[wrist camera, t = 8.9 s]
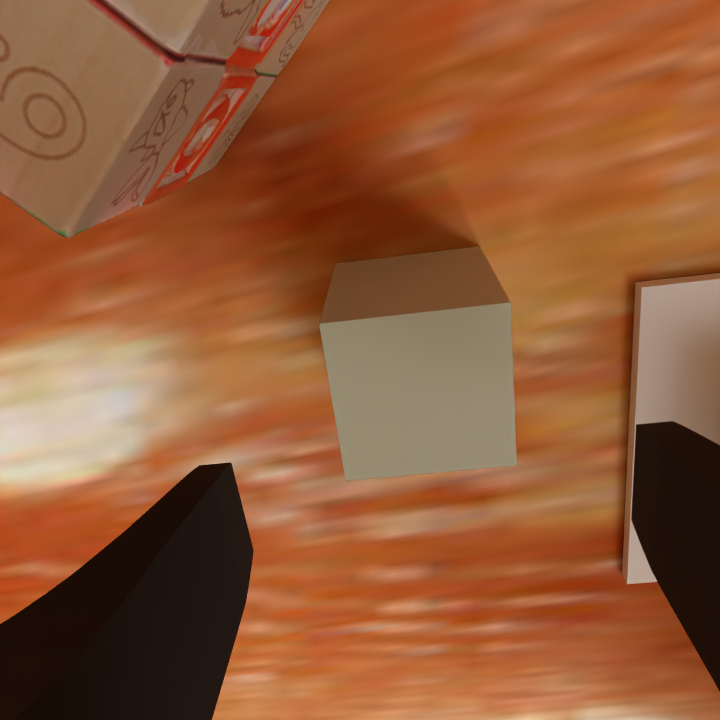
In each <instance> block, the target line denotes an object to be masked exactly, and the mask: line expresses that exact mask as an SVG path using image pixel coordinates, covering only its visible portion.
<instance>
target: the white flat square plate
mask: <svg viewBox="0 0 720 720" xmlns="http://www.w3.org/2000/svg"><path fill="white" fill-rule="evenodd" d="M668 421H674V422H676V423H678V424H680V425H683V426H685V427H687V428H689V429H691V430H692V431H694V432H696V433H698V434H700V435H702V436H704V437H706V438H708V439H709V440H711V441H713V442H715V443H717V444H719V445H720V273H714V274H705V275H696V276H687V277H678V278H669V279H660V280H651V281H642V282H635V303H634V324H633V346H632V368H631V390H630V412H629V434H628V456H627V478H626V500H625V522H624V543H623V565H622V575H623V577H624V579H625V581H626V583H627V584H635V583H649V582H657V580H656V578H655V576H654V574H653V573H652V571H651V568H650V566H649V563H648V561H647V559H646V556H645V554H644V552H643V549H642V547H641V544H640V541H639V539H638V536H637V534H636V531H635V529H634V526H633V523H632V521H631V515H632V495H633V476H634V456H635V437H636V424H647V423H657V422H668Z"/></svg>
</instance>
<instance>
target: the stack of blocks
mask: <svg viewBox="0 0 720 720" xmlns="http://www.w3.org/2000/svg"><path fill="white" fill-rule="evenodd" d="M328 2H329V0H0V193H1V194H3V195H4V196H6V197H8V198H9V199H10V200H11V201H12V202H14V203H15V204H16V205H17V206H19V207H20V208H22V209H23V210H25V211H26V212H27V213H29V214H30V215H32V216H33V217H34V218H36V219H37V220H39V221H40V222H41V223H43V224H44V225H46V226H47V227H48V228H50V229H51V230H53V231H54V232H56V233H57V234H59V235H61V236H64V237H67V238H69V237H71V236H74V235H76V234H78V233H80V232H82V231H84V230H87V229H89V228H91V227H93V226H95V225H97V224H99V223H102V222H104V221H106V220H108V219H110V218H112V217H114V216H117V215H119V214H121V213H123V212H125V211H127V210H129V209H131V208H132V207H135V206H137V205H139V206H140V207H142V206H145V205H147V204H149V203H151V202H153V201H155V200H157V199H159V198H161V197H163V196H165V195H167V194H169V193H171V192H172V191H174V190H176V189H178V188H180V187H181V186H183V185H184V184H186V183H188V182H190V181H191V180H193V179H194V178H196V177H198V176H200V175H201V174H203V173H205V172H207V171H209V170H210V169H212V168H214V167H215V166H216V165H217V164H218V162H219V161H220V159H221V158H222V156H223V155H224V153H225V152H226V150H227V149H228V147H229V146H230V144H231V143H232V141H233V140H234V139H235V137H236V136H237V134H238V133H239V131H240V130H241V128H242V127H243V125H244V124H245V122H246V121H247V119H248V118H249V117H250V115H251V114H252V112H253V111H254V109H255V108H256V106H257V105H258V103H259V102H260V100H261V99H262V98H263V96H264V95H265V93H266V92H267V90H268V89H269V87H270V86H271V84H272V83H273V81H274V79H275V78H276V76H277V75H278V74H279V73H280V71H281V70H282V69H283V68H284V67H285V65H286V64H287V62H288V61H289V60H290V58H291V57H292V55H293V54H294V52H295V51H296V50H297V48H298V47H299V45H300V44H301V42H302V41H303V40H304V38H305V37H306V35H307V34H308V32H309V31H310V29H311V28H312V26H313V25H314V23H315V22H316V20H317V19H318V17H319V16H320V14H321V13H322V11H323V10H324V8H325V7H326V5H327V3H328Z"/></svg>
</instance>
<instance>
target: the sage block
mask: <svg viewBox="0 0 720 720" xmlns="http://www.w3.org/2000/svg"><path fill="white" fill-rule="evenodd" d="M319 327H320V333H321V339H322V345H323V350H324V356H325V362H326V368H327V374H328V380H329V386H330V392H331V397H332V403H333V409H334V415H335V421H336V427H337V433H338V439H339V444H340V450H341V456H342V462H343V468H344V474H345V480H346V481H351V480H363V479H374V478H385V477H396V476H407V475H419V474H430V473H441V472H452V471H463V470H474V469H486V468H497V467H508V466H517V455H516V429H515V404H514V378H513V352H512V327H511V302H510V300H509V299H508V297H507V295H506V293H505V291H504V290H503V288H502V286H501V284H500V282H499V280H498V279H497V277H496V275H495V273H494V271H493V270H492V268H491V266H490V264H489V262H488V260H487V259H486V257H485V255H484V253H483V251H482V250H481V248H480V246H477V247H469V248H461V249H452V250H444V251H436V252H427V253H419V254H411V255H403V256H394V257H386V258H378V259H370V260H361V261H353V262H345V263H336V264H335V267H334V270H333V274H332V278H331V281H330V285H329V289H328V293H327V296H326V300H325V304H324V307H323V311H322V315H321V318H320V322H319Z"/></svg>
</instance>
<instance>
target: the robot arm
mask: <svg viewBox="0 0 720 720" xmlns="http://www.w3.org/2000/svg"><path fill="white" fill-rule="evenodd" d="M631 521H632V523H633V526H634V529H635V531H636V534H637V536H638V539H639V541H640V544H641V547H642V549H643V552H644V554H645V556H646V559H647V561H648V563H649V566H650V568H651V571H652V573H653V574H654V576H655V578H656V580H657V582H658V584H659V585H660V587H661V589H662V591H663V592H664V594H665V596H666V598H667V600H668V601H669V603H670V605H671V607H672V608H673V610H674V612H675V614H676V615H677V617H678V619H679V621H680V622H681V624H682V626H683V628H684V629H685V631H686V633H687V635H688V636H689V638H690V640H691V642H692V643H693V645H694V647H695V649H696V650H697V652H698V654H699V656H700V657H701V659H702V661H703V663H704V664H705V666H706V668H707V670H708V671H709V673H710V675H711V677H712V678H713V680H714V682H715V684H716V685H717V687H718V689H719V691H720V445H719V444H717V443H715V442H713V441H711V440H709V439H708V438H706V437H704V436H702V435H700V434H698V433H696V432H694V431H692V430H691V429H689V428H687V427H685V426H683V425H680V424H678V423H676V422H674V421H668V422H657V423H647V424H636V437H635V456H634V476H633V495H632V515H631ZM252 559H253V547H252V543H251V539H250V535H249V531H248V527H247V523H246V519H245V515H244V511H243V507H242V503H241V499H240V495H239V491H238V487H237V483H236V480H235V476H234V472H233V468H232V464H231V463H221V464H211V465H200V466H198V467H197V468H195V469H194V470H193V471H192V472H190V473H189V474H188V475H187V476H186V477H185V478H183V479H182V480H181V481H180V482H179V483H178V484H177V485H176V486H174V487H173V488H172V489H171V490H170V491H169V492H168V493H167V494H166V495H165V496H163V497H162V498H161V499H160V500H159V501H158V502H157V503H156V504H155V505H154V506H152V507H151V508H150V509H149V510H148V511H147V512H146V513H145V514H143V515H142V516H141V517H140V518H139V519H138V520H137V521H136V522H135V523H133V524H132V525H131V526H130V527H129V528H128V529H127V530H126V531H124V532H123V533H122V534H121V535H120V536H119V537H117V538H116V539H115V540H114V541H112V542H111V543H110V544H109V545H108V546H106V547H105V548H104V549H103V550H102V551H100V552H99V553H98V554H97V555H95V556H94V557H93V558H92V559H91V560H89V561H88V562H87V563H86V564H85V565H83V566H82V567H81V568H80V569H78V570H77V571H76V572H75V573H73V574H72V575H71V576H69V577H68V578H67V579H65V580H64V581H63V582H61V583H60V584H59V585H57V586H56V587H55V588H53V589H52V590H50V591H49V592H48V593H46V594H45V595H43V596H42V597H40V598H39V599H38V600H36V601H35V602H33V603H32V604H30V605H29V606H27V607H26V608H25V609H23V610H22V611H20V612H19V613H17V614H16V615H14V616H13V617H11V618H10V619H8V620H6V621H5V622H3V623H1V624H0V720H212V717H213V714H214V710H215V707H216V703H217V700H218V697H219V693H220V690H221V686H222V683H223V680H224V676H225V673H226V669H227V666H228V663H229V659H230V656H231V652H232V649H233V646H234V642H235V639H236V635H237V632H238V628H239V625H240V621H241V618H242V614H243V611H244V607H245V603H246V598H247V592H248V586H249V580H250V573H251V566H252Z"/></svg>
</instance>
